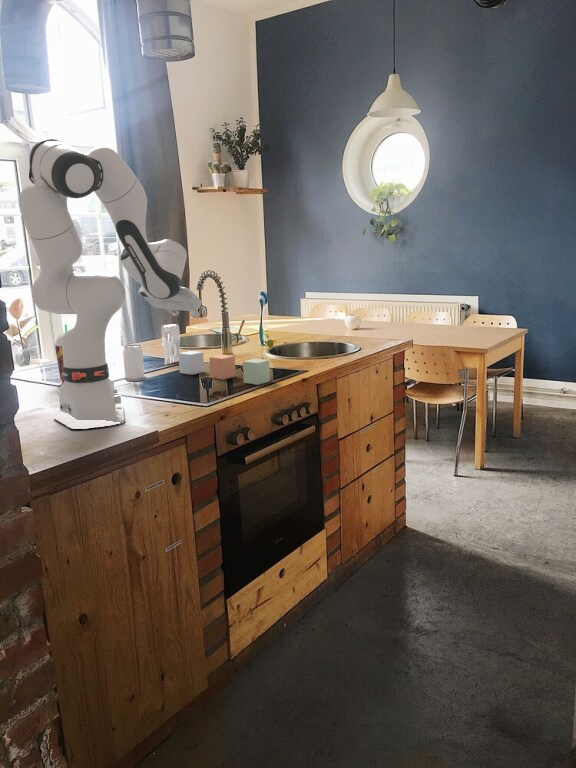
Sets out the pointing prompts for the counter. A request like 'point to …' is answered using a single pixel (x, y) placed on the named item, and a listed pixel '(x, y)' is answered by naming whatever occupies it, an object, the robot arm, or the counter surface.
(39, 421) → the counter surface
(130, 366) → the can
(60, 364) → the smoothie
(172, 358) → the beer glass
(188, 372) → the bluegrey block
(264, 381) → the sage block
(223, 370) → the terracotta block
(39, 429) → the counter surface
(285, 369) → the counter surface
